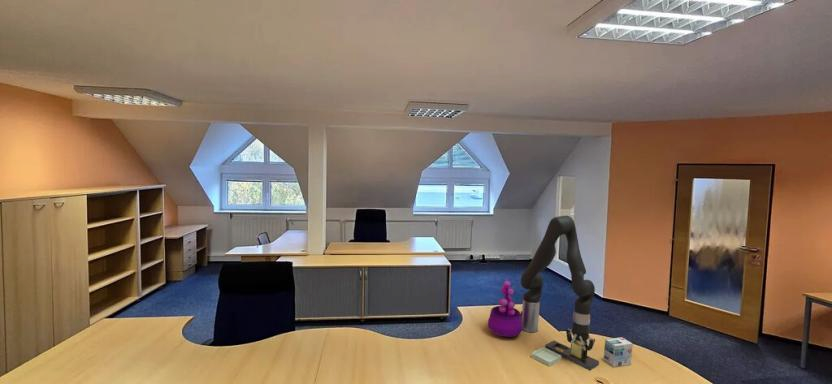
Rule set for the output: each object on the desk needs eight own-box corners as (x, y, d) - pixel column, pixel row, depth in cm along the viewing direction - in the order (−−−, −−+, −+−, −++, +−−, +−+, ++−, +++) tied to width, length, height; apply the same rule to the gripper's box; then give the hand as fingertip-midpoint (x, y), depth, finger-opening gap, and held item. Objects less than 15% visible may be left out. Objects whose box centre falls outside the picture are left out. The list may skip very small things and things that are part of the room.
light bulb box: (613, 367, 175) (615, 345, 174) (602, 360, 181) (604, 339, 180) (631, 364, 178) (633, 343, 177) (620, 357, 184) (622, 336, 183)
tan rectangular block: (570, 357, 181) (571, 342, 180) (576, 354, 184) (577, 339, 183) (580, 362, 177) (581, 346, 176) (585, 359, 180) (587, 343, 180)
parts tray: (531, 356, 182) (531, 352, 182) (543, 350, 188) (543, 347, 188) (549, 366, 174) (549, 362, 174) (561, 359, 180) (561, 355, 180)
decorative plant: (481, 327, 213) (484, 276, 210) (509, 323, 218) (512, 274, 215) (498, 343, 195) (501, 288, 192) (528, 339, 200) (531, 285, 198)
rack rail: (544, 348, 191) (545, 344, 191) (553, 344, 196) (553, 340, 196) (590, 370, 172) (590, 366, 172) (598, 365, 177) (599, 361, 177)
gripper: (563, 317, 182) (561, 350, 184) (591, 328, 171) (589, 363, 173) (571, 313, 187) (569, 345, 188) (599, 324, 175) (597, 358, 177)
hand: (578, 353), depth 181 cm, fingers closed on tan rectangular block, 5 cm apart
